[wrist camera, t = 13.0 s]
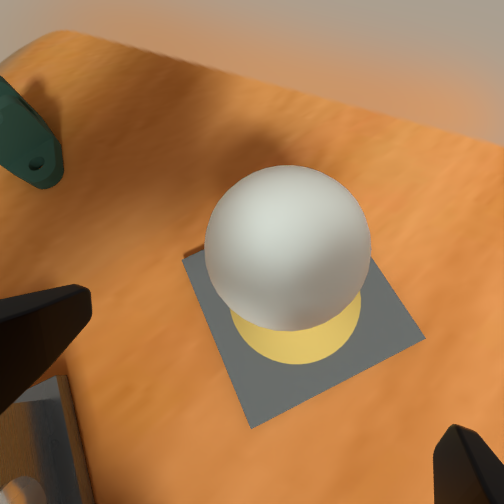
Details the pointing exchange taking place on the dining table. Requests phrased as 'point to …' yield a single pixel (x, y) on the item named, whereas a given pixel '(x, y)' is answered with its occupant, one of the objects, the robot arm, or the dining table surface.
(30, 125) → the mount
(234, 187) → the lightbulb
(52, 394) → the lamp housing
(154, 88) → the dining table surface
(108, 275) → the dining table surface
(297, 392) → the parts mat
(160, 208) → the dining table surface
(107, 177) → the dining table surface
